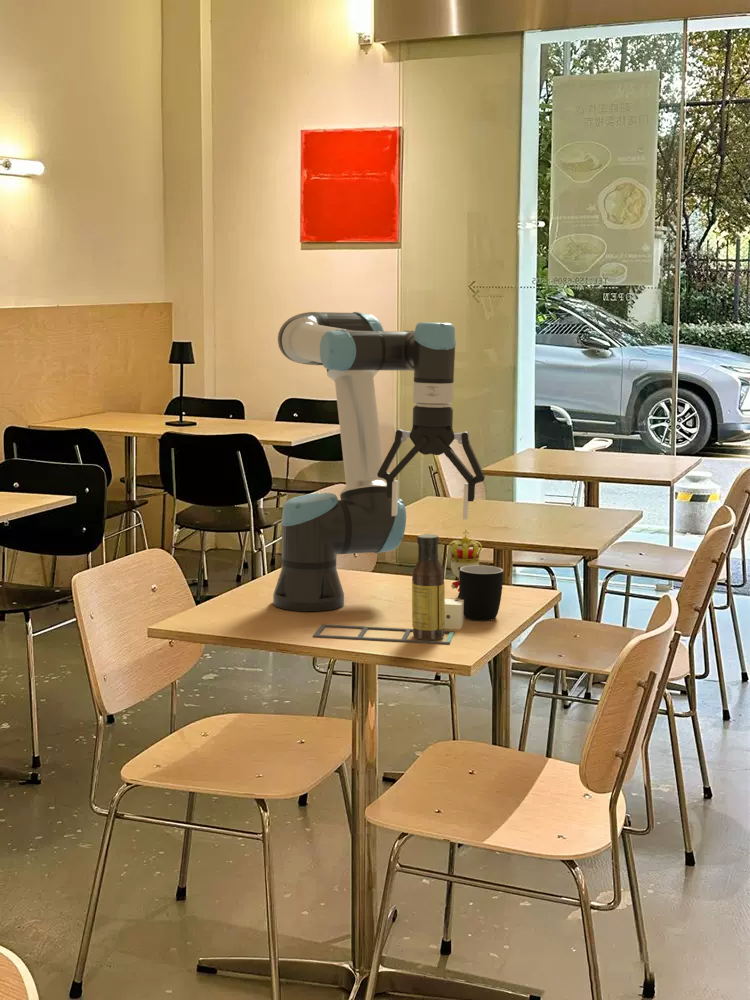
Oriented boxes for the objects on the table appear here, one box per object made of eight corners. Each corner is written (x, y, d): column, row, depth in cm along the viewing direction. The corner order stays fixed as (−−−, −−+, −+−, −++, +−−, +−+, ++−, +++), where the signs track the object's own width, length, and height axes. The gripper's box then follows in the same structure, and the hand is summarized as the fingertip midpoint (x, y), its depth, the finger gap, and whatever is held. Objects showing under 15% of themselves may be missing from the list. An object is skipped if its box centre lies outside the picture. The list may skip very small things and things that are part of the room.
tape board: (322, 625, 252) (322, 624, 251) (454, 632, 248) (454, 631, 248) (312, 636, 242) (312, 635, 242) (449, 644, 238) (449, 642, 238)
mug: (510, 620, 259) (512, 571, 258) (473, 624, 255) (475, 575, 253) (478, 608, 269) (479, 561, 268) (442, 612, 265) (443, 564, 264)
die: (438, 622, 256) (439, 597, 256) (463, 623, 255) (463, 598, 255) (435, 628, 251) (435, 602, 250) (460, 630, 250) (460, 604, 250)
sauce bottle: (432, 631, 248) (434, 531, 245) (450, 638, 243) (453, 536, 240) (404, 635, 245) (406, 534, 242) (423, 642, 239) (425, 539, 237)
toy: (453, 600, 276) (455, 533, 274) (443, 593, 283) (445, 527, 281) (484, 599, 278) (486, 532, 276) (474, 592, 285) (476, 527, 283)
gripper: (364, 404, 236) (362, 516, 239) (498, 409, 232) (494, 523, 235) (370, 401, 243) (368, 510, 246) (500, 405, 239) (496, 516, 243)
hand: (429, 516), depth 241 cm, fingers open, 13 cm apart
